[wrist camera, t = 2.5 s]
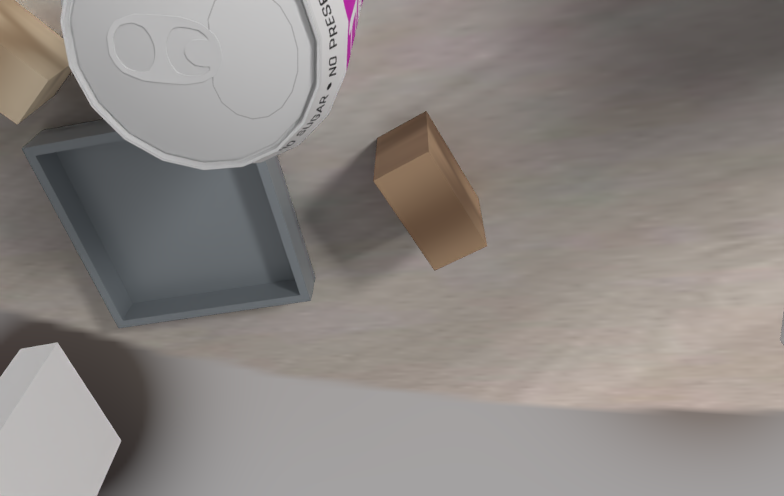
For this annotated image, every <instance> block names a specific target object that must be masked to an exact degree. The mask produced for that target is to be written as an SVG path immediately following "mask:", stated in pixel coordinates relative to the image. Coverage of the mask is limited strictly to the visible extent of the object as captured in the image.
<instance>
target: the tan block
mask: <svg viewBox="0 0 784 496" xmlns="http://www.w3.org/2000/svg"><path fill="white" fill-rule="evenodd" d="M70 73H71V69H70V67H69V64H68V58H67V53H66V48H65V43H64V39H63V38H62V37H60V36H59V35H58V34H57V33H55V32H54V31H53V30H51V29H50V28H49V27H48V26H46V25H45V24H44V23H43V22H41V21H40V20H39V19H37V18H36V17H35V16H34V15H32V14H31V13H30V12H29V11H27V10H26V9H25V8H23V7H22V6H21V5H20V4H18V3H17V2H16V1H15V0H0V113H1V114H3V115H4V116H6V117H7V118H8V119H10V120H11V121H13V122H14V123H15V124H17V125H18V124H19V123H20V122H22V121H23V120H24V119H25V118H27V117H28V116H29V115H30V114H32V113H33V112H34V111H35V110H37V109H38V108H39V107H40V106H42V105H43V104H44V103H45V102H47V101H48V100H49V99H50V98H52V97H53V96H54V95H55V94H56V92H57V91H58V89H59V88H60V87H61V85H62V84H63V82H64V81H65V80H66V78H67V77H68V75H69V74H70Z"/></svg>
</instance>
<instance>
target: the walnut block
mask: <svg viewBox="0 0 784 496" xmlns="http://www.w3.org/2000/svg"><path fill="white" fill-rule="evenodd" d="M373 181H374V183H375V184H376V186H377V187H378V188H379V190H380V191H381V193H382V194H383V196H384V197H385V199H386V200H387V202H388V203H389V205H390V206H391V207H392V209H393V210H394V212H395V213H396V215H397V216H398V218H399V219H400V221H401V222H402V224H403V225H404V227H405V228H406V229H407V231H408V232H409V234H410V235H411V237H412V238H413V240H414V241H415V243H416V244H417V246H418V247H419V248H420V250H421V251H422V253H423V254H424V256H425V257H426V259H427V260H428V262H429V263H430V265H431V266H432V268H433V269H434V270H437V269H439V268H441V267H443V266H446V265H448V264H450V263H452V262H454V261H456V260H458V259H461V258H463V257H465V256H467V255H469V254H471V253H473V252H476V251H478V250H480V249H482V248H484V247H486V246H487V243H486V237H485V232H484V226H483V221H482V215H481V210H480V204H479V199H478V197H477V195H476V193H475V192H474V190H473V188H472V187H471V185H470V183H469V182H468V180H467V178H466V177H465V175H464V173H463V172H462V170H461V168H460V167H459V165H458V163H457V162H456V160H455V158H454V157H453V155H452V153H451V152H450V150H449V148H448V147H447V145H446V143H445V141H444V140H443V138H442V136H441V135H440V133H439V131H438V130H437V128H436V126H435V125H434V123H433V121H432V120H431V118H430V116H429V115H428V113H427V111H425V112H424V113H422V114H420V115H418V116H416V117H415V118H413V119H411V120H409V121H407V122H406V123H404V124H402V125H400V126H398V127H396V128H395V129H393V130H391V131H389V132H387V133H386V134H384V135H382V136H380V137H378V138H377V147H376V157H375V168H374V178H373Z"/></svg>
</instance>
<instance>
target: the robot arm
mask: <svg viewBox="0 0 784 496" xmlns="http://www.w3.org/2000/svg"><path fill="white" fill-rule="evenodd" d="M780 341H781V343H782V344H783V345H784V313H783V321H782V329H781V337H780ZM120 442H121V439H120V438H119V436H118V435H117V433H116V432H115V430H114V429H113V427H112V426H111V424H110V422H109V421H108V419H107V418H106V416H105V415H104V413H103V412H102V411H101V409H100V407H99V406H98V404H97V402H96V401H95V399H94V398H93V396H92V395H91V393H90V392H89V390H88V389H87V388H86V386H85V384H84V382H83V381H82V379H81V378H80V376H79V375H78V373H77V372H76V370H75V369H74V367H73V366H72V364H71V362H70V361H69V359H68V358H67V356H66V355H65V353H64V352H63V350H62V349H61V347H60V346H59V344H58V343H52V344H46V345H41V346H34V347H29V348H23V349H20V350H19V352H18V353H17V354H16V356H15V357H14V359H13V360H12V361H11V363H10V364H9V366H8V367H7V368H6V370H5V371H4V373H3V374H2V375H1V377H0V496H97V494H98V492H99V490H100V487H101V485H102V482H103V481H104V478H105V476H106V474H107V472H108V469H109V467H110V465H111V463H112V460H113V458H114V456H115V454H116V451H117V449H118V447H119V445H120Z"/></svg>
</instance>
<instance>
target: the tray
mask: <svg viewBox="0 0 784 496" xmlns="http://www.w3.org/2000/svg"><path fill="white" fill-rule="evenodd" d="M22 150H23V152H24V154H25V156H26V158H27V160H28V161H29V163H30V165H31V167H32V169H33V171H34V172H35V174H36V176H37V178H38V180H39V182H40V184H41V185H42V187H43V189H44V191H45V193H46V195H47V197H48V198H49V200H50V202H51V204H52V206H53V208H54V210H55V211H56V213H57V215H58V217H59V219H60V221H61V223H62V224H63V226H64V228H65V230H66V232H67V234H68V235H69V237H70V239H71V241H72V243H73V245H74V247H75V248H76V250H77V252H78V254H79V256H80V258H81V260H82V261H83V263H84V265H85V267H86V269H87V271H88V273H89V274H90V276H91V278H92V280H93V282H94V284H95V285H96V287H97V289H98V291H99V293H100V295H101V297H102V298H103V300H104V302H105V304H106V306H107V308H108V310H109V311H110V313H111V315H112V317H113V319H114V321H115V323H116V324H117V326H118V328H124V327H131V326H138V325H145V324H152V323H159V322H166V321H173V320H180V319H187V318H194V317H201V316H208V315H215V314H222V313H229V312H235V311H242V310H249V309H256V308H263V307H270V306H277V305H284V304H291V303H298V302H305V301H311V297H312V292H313V287H314V282H315V275H314V272H313V268H312V265H311V262H310V259H309V256H308V252H307V249H306V246H305V243H304V240H303V236H302V233H301V230H300V227H299V224H298V220H297V217H296V214H295V211H294V208H293V204H292V201H291V198H290V195H289V192H288V189H287V185H286V182H285V179H284V176H283V173H282V169H281V166H280V163H279V160H278V157H277V155H276V156H274V157H272V158H270V159H267V160H265V161H263V162H261V163H250V164H248V165H246V166H244V167H234V168H222V169H211V170H201V169H197V168H192V167H188V166H184V165H179V164H175V163H170V162H166V161H162V160H160V159H159V158H157V157H155V156H153V155H152V154H150V153H148V152H146V151H144V150H143V149H141V148H139V147H137V146H135V145H134V144H132V143H130V142H128V141H126V140H125V139H123V138H122V137H121V136H120V135H119V134H118V133H117V132H116V131H115V130H114V129H113V128H112V127H111V126H110V125H109V124H108V123H107V122H106V121H105V120H104V119H102V120H97V121H91V122H86V123H80V124H75V125H69V126H64V127H59V128H53V129H48V130H42V131H41V132H40V133H39V134H38V135H37V136H35V137H34V138H33V139H32V140H31V141H30V142H29V143H27V144H26V145H25V146H24V147H23V148H22Z"/></svg>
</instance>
